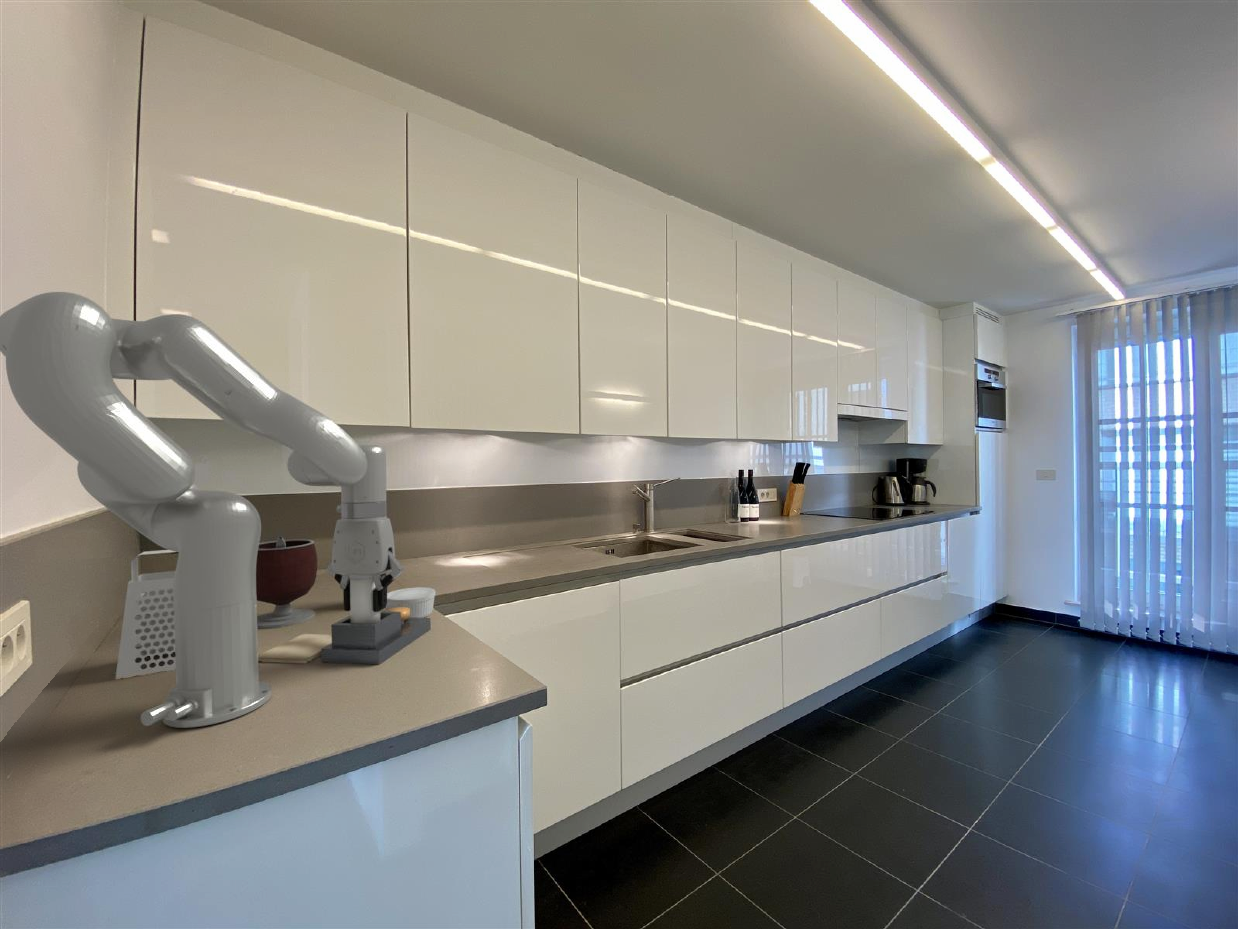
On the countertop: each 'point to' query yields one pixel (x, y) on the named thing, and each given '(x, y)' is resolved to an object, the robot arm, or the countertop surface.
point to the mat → (297, 649)
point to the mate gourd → (285, 580)
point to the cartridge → (362, 599)
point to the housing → (372, 638)
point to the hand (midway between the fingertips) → (365, 608)
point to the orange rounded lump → (404, 612)
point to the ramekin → (413, 600)
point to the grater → (147, 621)
